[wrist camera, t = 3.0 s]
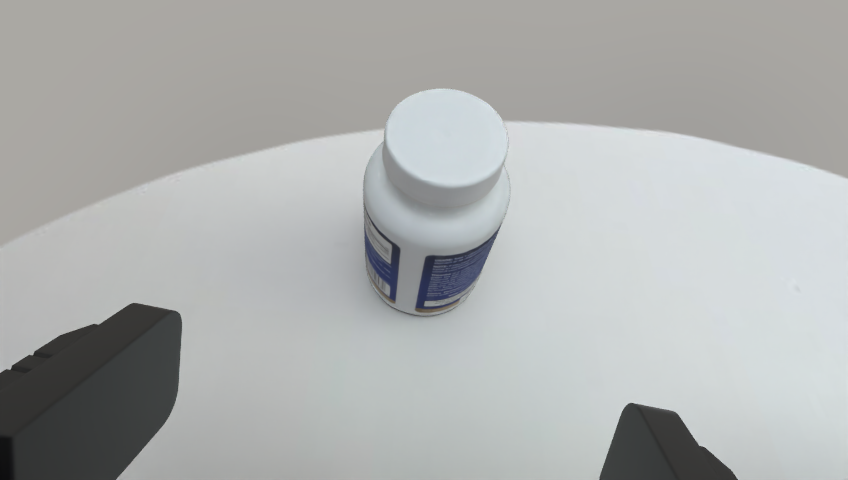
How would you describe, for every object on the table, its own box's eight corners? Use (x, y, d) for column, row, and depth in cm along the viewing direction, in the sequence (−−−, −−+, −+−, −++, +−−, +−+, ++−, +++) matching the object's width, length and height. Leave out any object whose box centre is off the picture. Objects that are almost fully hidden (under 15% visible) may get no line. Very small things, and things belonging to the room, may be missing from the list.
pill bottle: (488, 233, 26) (544, 95, 18) (463, 333, 24) (514, 227, 15) (385, 204, 27) (391, 53, 18) (349, 299, 24) (336, 176, 16)
